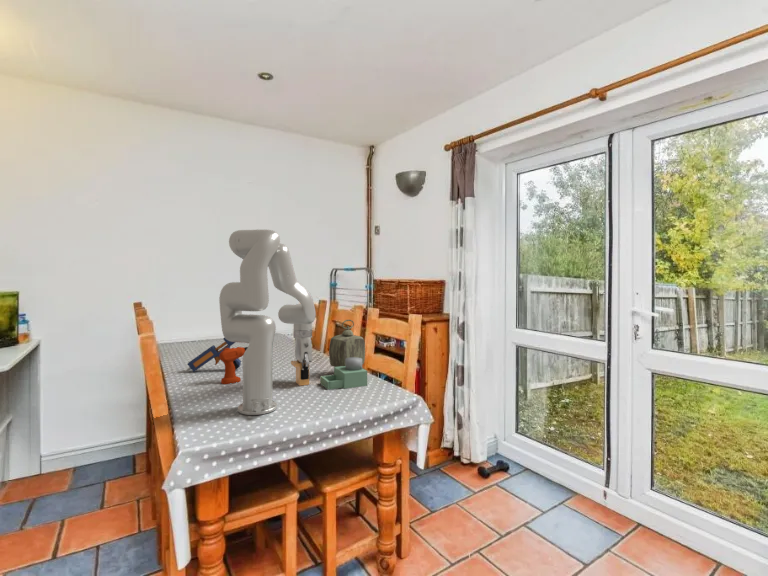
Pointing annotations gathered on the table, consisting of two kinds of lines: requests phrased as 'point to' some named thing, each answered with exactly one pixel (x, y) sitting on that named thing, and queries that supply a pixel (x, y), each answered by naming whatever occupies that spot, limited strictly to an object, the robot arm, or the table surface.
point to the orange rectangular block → (299, 373)
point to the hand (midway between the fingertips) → (302, 376)
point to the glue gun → (210, 356)
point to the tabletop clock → (346, 347)
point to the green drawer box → (346, 375)
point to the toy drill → (231, 363)
